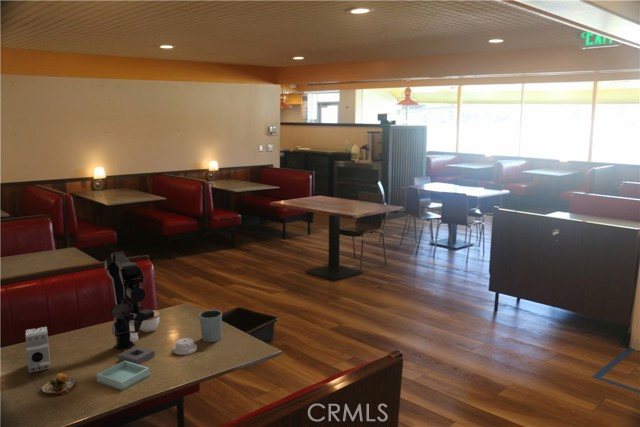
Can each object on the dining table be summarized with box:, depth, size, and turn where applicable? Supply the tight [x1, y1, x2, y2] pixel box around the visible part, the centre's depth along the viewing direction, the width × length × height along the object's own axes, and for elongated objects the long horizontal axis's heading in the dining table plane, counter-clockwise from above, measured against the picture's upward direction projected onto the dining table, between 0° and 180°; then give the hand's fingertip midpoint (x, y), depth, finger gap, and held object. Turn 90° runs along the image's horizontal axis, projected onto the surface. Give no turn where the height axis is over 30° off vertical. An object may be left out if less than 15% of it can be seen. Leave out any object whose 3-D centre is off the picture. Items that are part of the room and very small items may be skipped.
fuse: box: [129, 320, 139, 343], centre depth 219 cm, size 3×3×8 cm
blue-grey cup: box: [198, 309, 223, 343], centre depth 244 cm, size 10×10×12 cm
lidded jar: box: [139, 309, 160, 333], centre depth 254 cm, size 11×11×9 cm
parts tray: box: [96, 361, 151, 391], centre depth 207 cm, size 14×14×3 cm
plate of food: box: [40, 372, 77, 397], centre depth 199 cm, size 12×12×8 cm
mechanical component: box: [172, 337, 198, 356], centre depth 232 cm, size 10×4×10 cm
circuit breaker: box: [25, 326, 51, 373], centre depth 212 cm, size 8×14×15 cm, turn 27°
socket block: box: [118, 345, 156, 365], centre depth 224 cm, size 10×10×2 cm
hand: (133, 331), depth 219 cm, fingers closed on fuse, 3 cm apart
